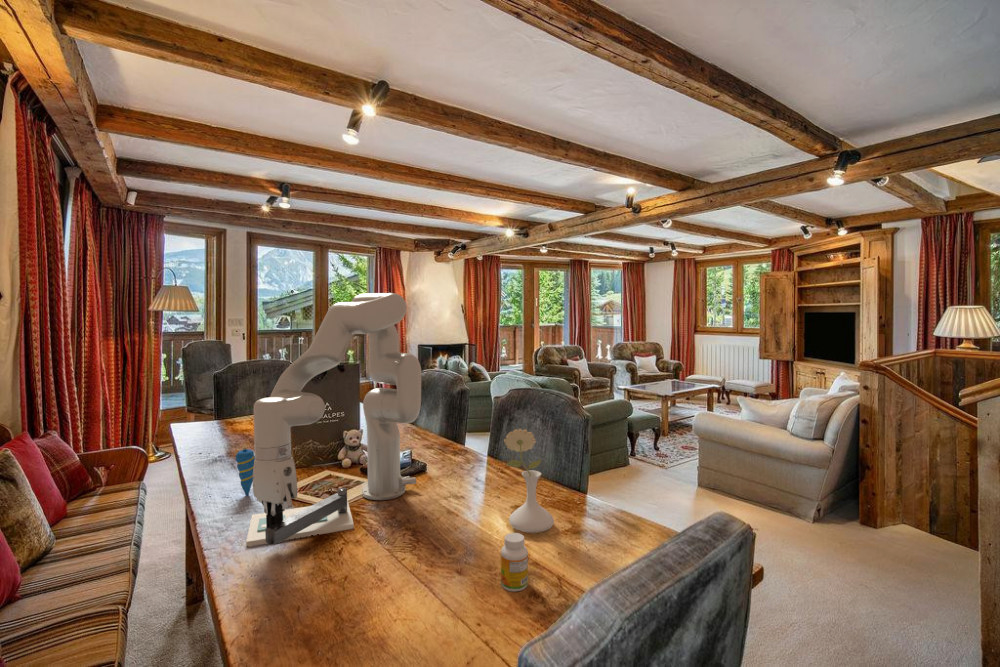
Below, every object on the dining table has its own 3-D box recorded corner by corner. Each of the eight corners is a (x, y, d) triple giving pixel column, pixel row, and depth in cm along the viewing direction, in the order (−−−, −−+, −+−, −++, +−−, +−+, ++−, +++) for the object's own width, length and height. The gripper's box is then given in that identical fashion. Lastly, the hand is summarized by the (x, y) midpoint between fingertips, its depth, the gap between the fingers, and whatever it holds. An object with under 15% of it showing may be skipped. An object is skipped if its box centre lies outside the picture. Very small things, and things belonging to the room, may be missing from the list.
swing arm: (341, 509, 128) (340, 487, 128) (350, 510, 127) (349, 488, 127) (263, 551, 106) (263, 525, 105) (274, 554, 104) (273, 527, 104)
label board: (347, 504, 135) (347, 498, 135) (353, 528, 120) (353, 521, 120) (252, 519, 126) (252, 512, 125) (246, 546, 111) (246, 539, 111)
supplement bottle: (499, 577, 98) (499, 531, 98) (525, 576, 99) (525, 530, 98) (502, 593, 93) (502, 544, 92) (529, 591, 93) (529, 543, 93)
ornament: (247, 499, 139) (246, 448, 138) (232, 497, 140) (231, 447, 139) (260, 492, 144) (259, 443, 143) (245, 491, 145) (244, 442, 144)
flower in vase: (558, 520, 125) (558, 426, 124) (548, 540, 114) (548, 437, 113) (510, 513, 129) (510, 422, 128) (496, 532, 118) (496, 432, 117)
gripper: (309, 451, 110) (310, 529, 111) (265, 443, 117) (267, 516, 118) (280, 460, 103) (283, 543, 104) (236, 451, 110) (239, 529, 111)
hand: (274, 529), depth 111 cm, fingers closed
